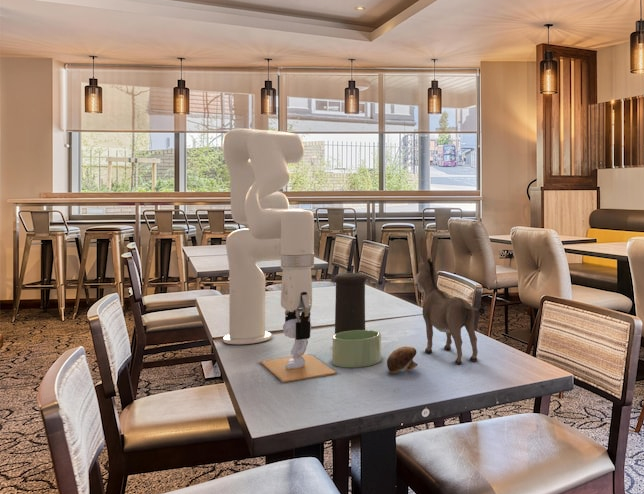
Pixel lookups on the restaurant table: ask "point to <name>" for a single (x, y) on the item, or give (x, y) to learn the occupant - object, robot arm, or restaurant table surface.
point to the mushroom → (401, 359)
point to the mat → (308, 371)
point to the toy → (444, 307)
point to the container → (350, 302)
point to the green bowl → (356, 348)
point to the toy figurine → (295, 345)
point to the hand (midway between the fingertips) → (297, 335)
